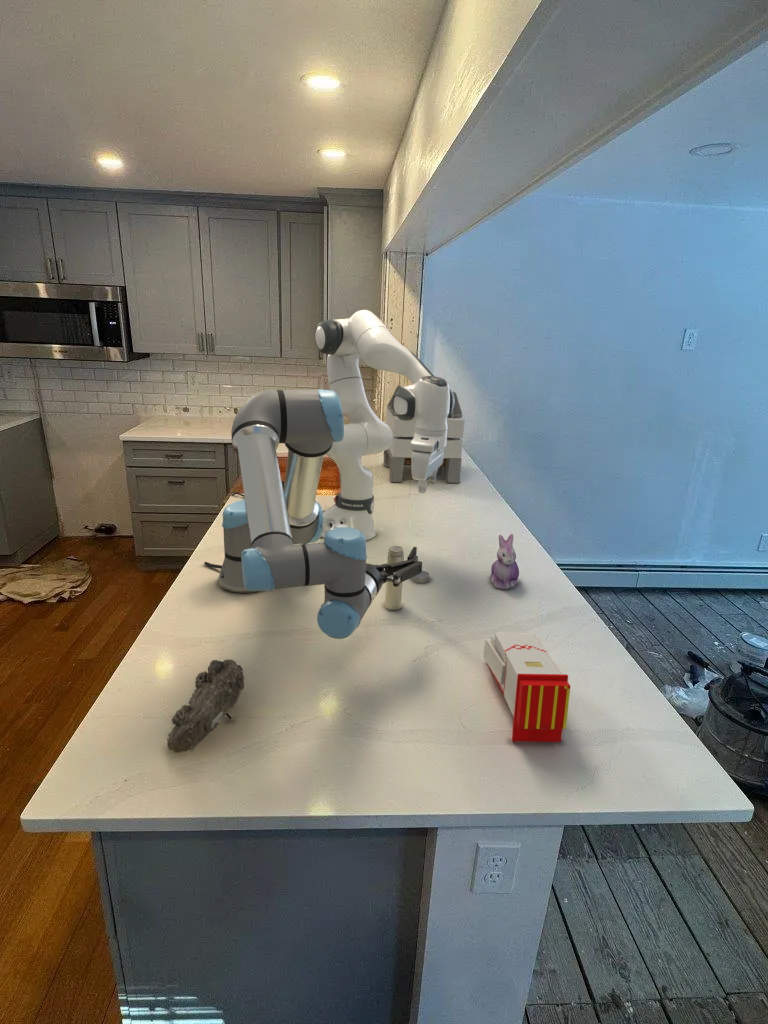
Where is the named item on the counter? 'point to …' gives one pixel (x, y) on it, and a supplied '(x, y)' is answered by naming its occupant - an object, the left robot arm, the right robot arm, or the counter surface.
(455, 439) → the transformer
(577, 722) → the counter surface
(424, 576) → the lid
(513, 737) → the toy
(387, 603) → the jar
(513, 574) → the figurine
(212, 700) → the fossil
